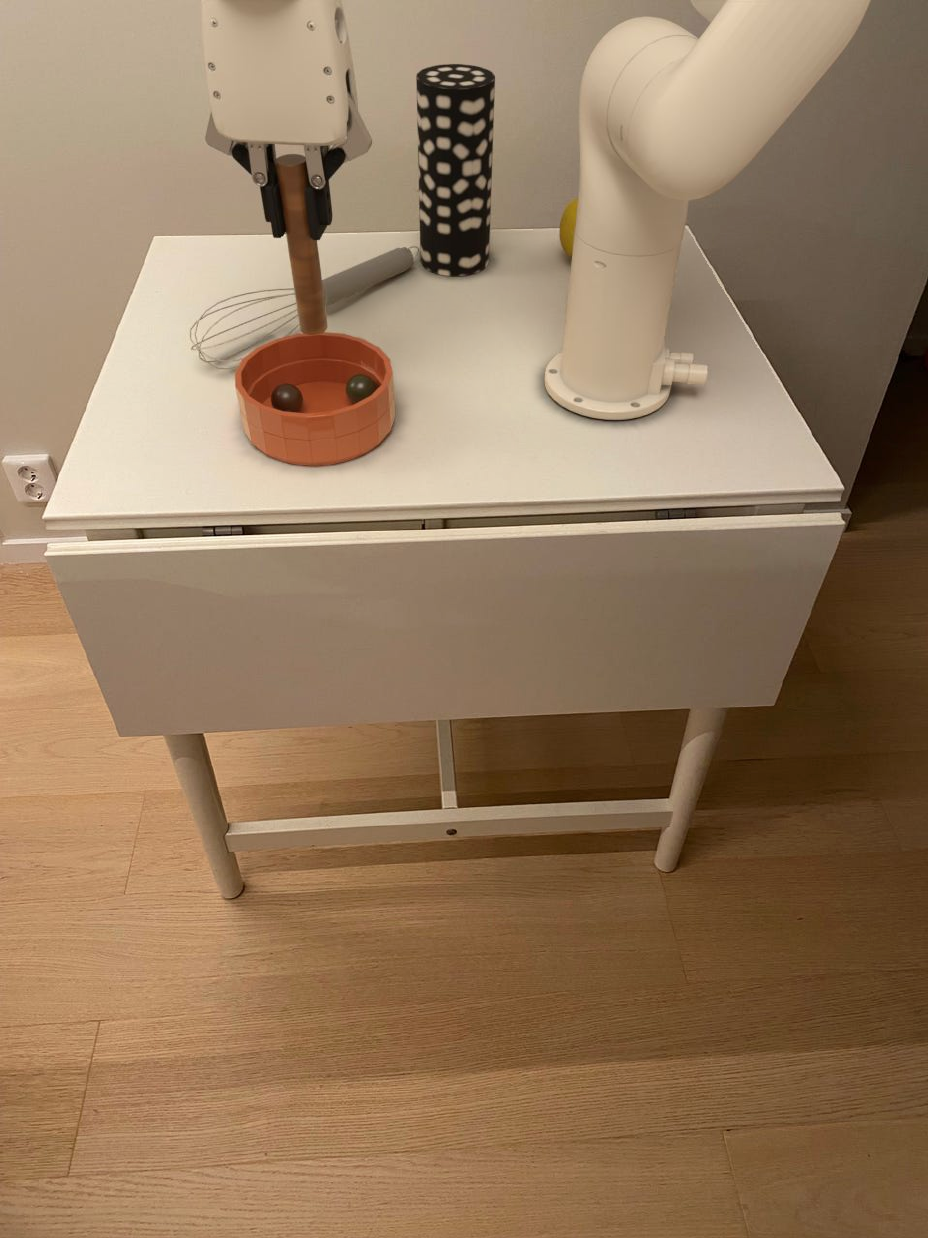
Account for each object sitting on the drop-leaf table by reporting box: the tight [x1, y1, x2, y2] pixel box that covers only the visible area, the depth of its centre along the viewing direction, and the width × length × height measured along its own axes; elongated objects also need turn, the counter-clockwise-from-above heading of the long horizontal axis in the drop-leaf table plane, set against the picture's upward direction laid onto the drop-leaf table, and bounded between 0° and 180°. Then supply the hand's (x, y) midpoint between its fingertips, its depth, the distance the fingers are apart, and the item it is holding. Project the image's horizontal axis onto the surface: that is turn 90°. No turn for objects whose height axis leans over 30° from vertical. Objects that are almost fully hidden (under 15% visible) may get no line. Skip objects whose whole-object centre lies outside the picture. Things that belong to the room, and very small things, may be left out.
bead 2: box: [346, 374, 377, 404], centre depth 88 cm, size 3×3×3 cm
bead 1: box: [271, 383, 303, 413], centre depth 87 cm, size 3×3×3 cm
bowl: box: [234, 331, 396, 467], centre depth 86 cm, size 14×14×6 cm
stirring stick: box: [275, 153, 328, 335], centre depth 75 cm, size 2×2×14 cm
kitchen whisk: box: [189, 245, 420, 371], centre depth 100 cm, size 6×34×6 cm, turn 142°
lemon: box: [558, 197, 578, 258], centre depth 109 cm, size 6×6×8 cm
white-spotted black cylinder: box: [415, 63, 496, 277], centre depth 104 cm, size 8×8×20 cm
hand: (300, 229), depth 74 cm, fingers closed on stirring stick, 2 cm apart
